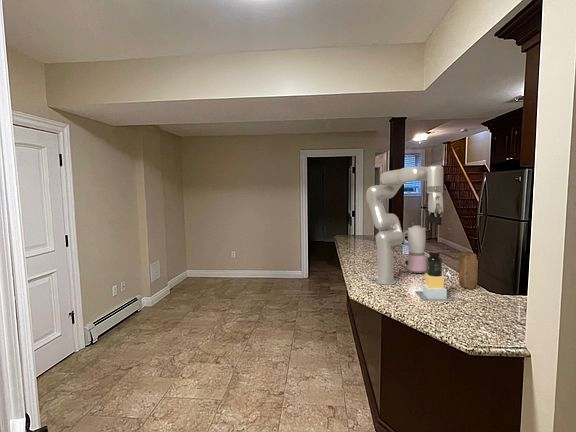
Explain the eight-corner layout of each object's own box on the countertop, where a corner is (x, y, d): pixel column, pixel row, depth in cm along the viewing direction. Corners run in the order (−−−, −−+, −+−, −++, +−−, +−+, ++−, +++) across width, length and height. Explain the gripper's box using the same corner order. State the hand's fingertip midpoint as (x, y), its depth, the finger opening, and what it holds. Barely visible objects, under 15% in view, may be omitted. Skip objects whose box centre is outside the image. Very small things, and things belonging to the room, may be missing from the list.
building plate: (422, 302, 163) (422, 299, 163) (414, 293, 179) (414, 290, 179) (456, 303, 161) (456, 300, 161) (445, 293, 177) (445, 290, 176)
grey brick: (427, 298, 166) (427, 288, 166) (422, 293, 175) (422, 284, 175) (446, 299, 165) (446, 289, 164) (440, 293, 174) (440, 284, 173)
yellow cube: (429, 288, 166) (429, 276, 166) (425, 284, 173) (425, 273, 173) (443, 288, 166) (443, 276, 165) (439, 284, 172) (439, 273, 172)
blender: (423, 270, 231) (423, 225, 229) (428, 274, 219) (428, 226, 217) (400, 270, 233) (400, 225, 231) (404, 274, 221) (404, 226, 219)
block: (478, 289, 182) (478, 254, 181) (464, 289, 183) (464, 254, 182) (469, 284, 193) (470, 250, 192) (456, 284, 194) (456, 250, 193)
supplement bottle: (425, 273, 173) (425, 250, 172) (438, 273, 172) (438, 250, 172) (430, 276, 166) (430, 253, 165) (444, 276, 166) (444, 252, 165)
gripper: (448, 189, 157) (448, 225, 158) (437, 190, 174) (437, 222, 176) (432, 190, 158) (431, 225, 159) (422, 190, 176) (422, 222, 177)
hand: (434, 223), depth 168 cm, fingers open, 9 cm apart
